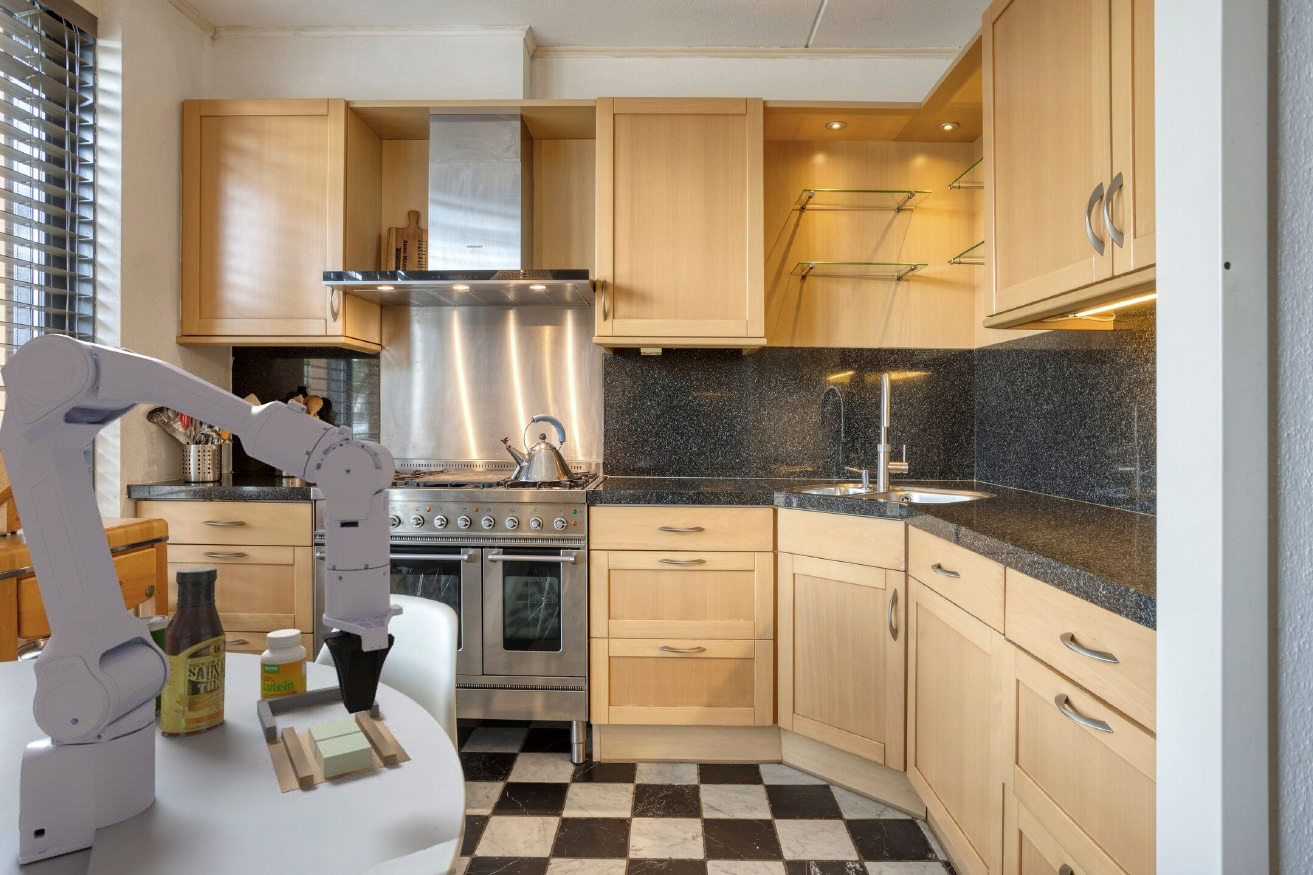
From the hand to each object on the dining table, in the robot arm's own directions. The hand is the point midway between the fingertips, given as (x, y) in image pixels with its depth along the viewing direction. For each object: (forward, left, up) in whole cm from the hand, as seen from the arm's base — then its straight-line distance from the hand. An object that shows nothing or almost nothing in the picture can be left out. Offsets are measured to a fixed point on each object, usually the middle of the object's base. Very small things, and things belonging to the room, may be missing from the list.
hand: (358, 708), depth 66 cm
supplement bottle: (-2, +33, -10) cm, 34 cm away
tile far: (0, +12, -8) cm, 14 cm away
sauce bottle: (-12, +28, -10) cm, 32 cm away
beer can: (-18, +41, -10) cm, 46 cm away
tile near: (0, +7, -8) cm, 11 cm away
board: (0, +11, -9) cm, 14 cm away
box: (0, +23, -9) cm, 25 cm away
